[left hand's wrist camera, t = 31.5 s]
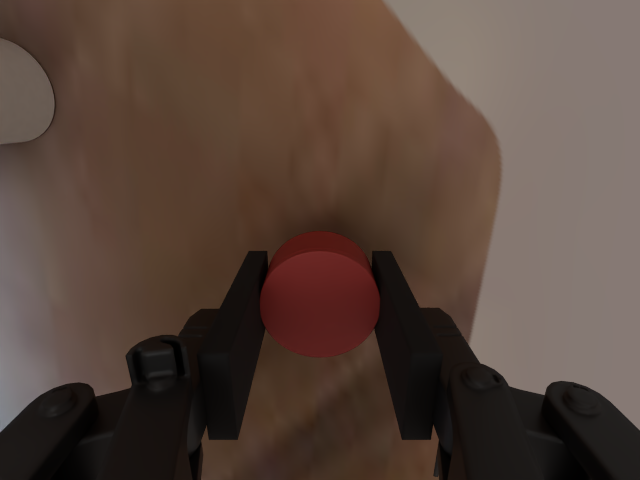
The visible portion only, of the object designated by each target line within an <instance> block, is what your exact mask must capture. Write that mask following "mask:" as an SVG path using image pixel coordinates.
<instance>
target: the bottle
mask: <svg viewBox="0 0 640 480" xmlns="http://www.w3.org/2000/svg"><path fill="white" fill-rule="evenodd" d="M54 108H55V102H54V94H53V90H52V86H51V84H50V81H49V79H48V77H47V75H46V73H45V72H44V70H43V69H42V67H41V66H40V64H39V63H38V62H37V61H36V60H35V59H34V58H33V57H32V56H31V55H30V54H29V53H28V52H27V51H25V50H24V49H23V48H21V47H20V46H18V45H17V44H15V43H13V42H11V41H8V40H5V39H2V38H0V144H9V143H19V142H26V141H30V140H33V139H35V138H37V137H39V136H40V135H41V134H43V133H44V132H45V131H46V129H47V128H48V127H49V125H50V123H51V121H52V119H53V115H54Z"/></svg>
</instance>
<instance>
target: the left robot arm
mask: <svg viewBox="0 0 640 480" xmlns="http://www.w3.org/2000/svg"><path fill="white" fill-rule="evenodd" d="M267 271H268V256H267V251H249V252H248V254H247V256H246V258H245V260H244V262H243V264H242V266H241V267H240V269H239V271H238V273H237V275H236V277H235V279H234V281H233V283H232V285H231V287H230V289H229V291H228V293H227V295H226V297H225V299H224V301H223V303H222V305H221V307H220V309H200V310H199V311H198V312H196V313H195V314H194V315H192V316H191V317H190V318H189V319H188V321H187V322H186V324H185V326H184V327H183V329H182V330H181V332H180V334H179V335H178V336H174V335H160V336H156V337H151V338H149V339H146V340H144V341H142V342H140V343H138V344H137V345H135V346H134V347H132V348H131V349H130V350H129V352H128V353H127V354H126V360H127V364H128V369H129V373H130V377H131V382H132V386H131V388H129V389H125V390H122V391H118V392H114V393H109V394H105V395H101V396H96V397H95V394H94V390H93V388H92V387H91V386H90V385H88V384H85V383H70V384H65V385H62V386H59V387H56V388H53V389H51V390H49V391H47V392H46V393H44V394H42V395H40V396H39V397H38V398H36V399H35V400H34V401H32V402H31V403H30V404H29V405H28V406H27V407H26V408H25V409H24V410H23V411H22V412H21V413H20V414H19V415H18V416H17V417H16V418H15V419H14V420H13V421H12V422H11V423H10V424H9V425H7V426H6V427H5V428H4V429H3V430H2V431H1V432H0V480H201V472H202V462H203V450H202V443H201V439H202V437H203V434H204V431H205V428H206V425H207V430H208V437H209V440H238V436H239V432H240V428H241V424H242V420H243V416H244V412H245V408H246V404H247V400H248V396H249V392H250V388H251V384H252V380H253V376H254V372H255V368H256V364H257V360H258V356H259V352H260V348H261V344H262V340H263V336H264V332H265V326H264V323H263V321H262V318H261V312H260V293H261V290H262V287H263V284H264V281H265V278H266V275H267ZM372 272H373V275H374V278H375V281H376V284H377V287H378V290H379V294H380V309H379V318H378V321H377V323H376V325H375V327H374V329H375V333H376V337H377V341H378V345H379V349H380V353H381V357H382V361H383V365H384V369H385V373H386V377H387V381H388V385H389V389H390V393H391V397H392V401H393V405H394V409H395V413H396V417H397V421H398V425H399V429H400V433H401V437H402V440H431V435H432V428H433V424H434V427H435V430H436V433H437V435H438V438H439V443H438V450H437V456H436V462H435V469H434V476H435V477H438V474H439V480H640V430H639V429H638V428H637V427H636V426H635V425H633V423H631V422H630V421H629V420H628V419H627V418H626V417H625V416H624V415H623V414H622V413H621V412H620V411H619V410H618V409H617V408H616V407H615V406H614V405H613V404H612V403H611V402H610V401H609V400H607V399H606V398H605V397H603V396H602V395H601V394H599V393H598V392H596V391H594V390H592V389H590V388H588V387H586V386H583V385H580V384H577V383H574V382H566V381H558V382H553V383H551V384H550V385H549V386H548V387H547V389H546V392H545V395H541V394H537V393H532V392H528V391H523V390H519V389H516V388H513V387H510V386H508V384H507V382H506V380H505V379H504V377H503V376H502V375H500V374H499V373H498V372H497V371H495V370H494V369H492V368H490V367H488V366H486V365H484V364H480V362H479V361H478V359H477V358H476V356H475V355H474V353H473V351H472V350H471V348H470V347H469V345H468V343H467V342H466V340H465V339H464V337H463V336H462V334H461V332H460V331H459V329H458V328H457V327H456V325H455V323H454V321H453V320H452V318H451V317H450V316H449V315H448V314H446V313H445V312H444V311H442V310H441V309H440V308H420V307H419V305H418V303H417V302H416V300H415V298H414V296H413V294H412V292H411V290H410V288H409V286H408V284H407V282H406V280H405V278H404V276H403V274H402V272H401V270H400V268H399V266H398V264H397V262H396V260H395V258H394V256H393V254H392V252H391V251H373V252H372Z"/></svg>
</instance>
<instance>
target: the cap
mask: <svg viewBox="0 0 640 480" xmlns="http://www.w3.org/2000/svg"><path fill="white" fill-rule="evenodd" d="M379 309H380V294H379V290H378V287H377V284H376V281H375V278H374V275H373V272H372V269H371V266H370V263H369V261H368V259H367V257H366V255H365V254H364V252H363V251H362V250H361V249H360V247H359V246H358V245H356V244H355V243H354V242H353V241H351V240H350V239H348V238H346V237H344V236H342V235H339V234H336V233H332V232H326V231H313V232H308V233H304V234H301V235H298V236H296V237H294V238H292V239H290V240H289V241H287V242H286V243H285V244H283V245H282V246H281V247H280V248H279V249H278V251H277V252H276V253H275V255H274V256H273V258H272V260H271V262H270V265H269V268H268V271H267V275H266V278H265V281H264V284H263V287H262V290H261V293H260V312H261V318H262V321H263V323H264V326H265V328H266V329H267V331H268V332H269V334H270V335H271V336H272V337H273V338H274V339H275V340H276V341H277V342H278V343H279V344H280V345H282V346H283V347H285V348H286V349H288V350H290V351H292V352H295V353H297V354H301V355H304V356H309V357H330V356H336V355H339V354H343V353H345V352H348V351H350V350H351V349H353V348H355V347H357V346H358V345H359V344H361V343H362V342H363V341H364V340H365V339H366V338H367V337H368V336H369V335H370V334H371V332H372V330H373V329H374V327H375V325H376V323H377V321H378V318H379Z"/></svg>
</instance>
